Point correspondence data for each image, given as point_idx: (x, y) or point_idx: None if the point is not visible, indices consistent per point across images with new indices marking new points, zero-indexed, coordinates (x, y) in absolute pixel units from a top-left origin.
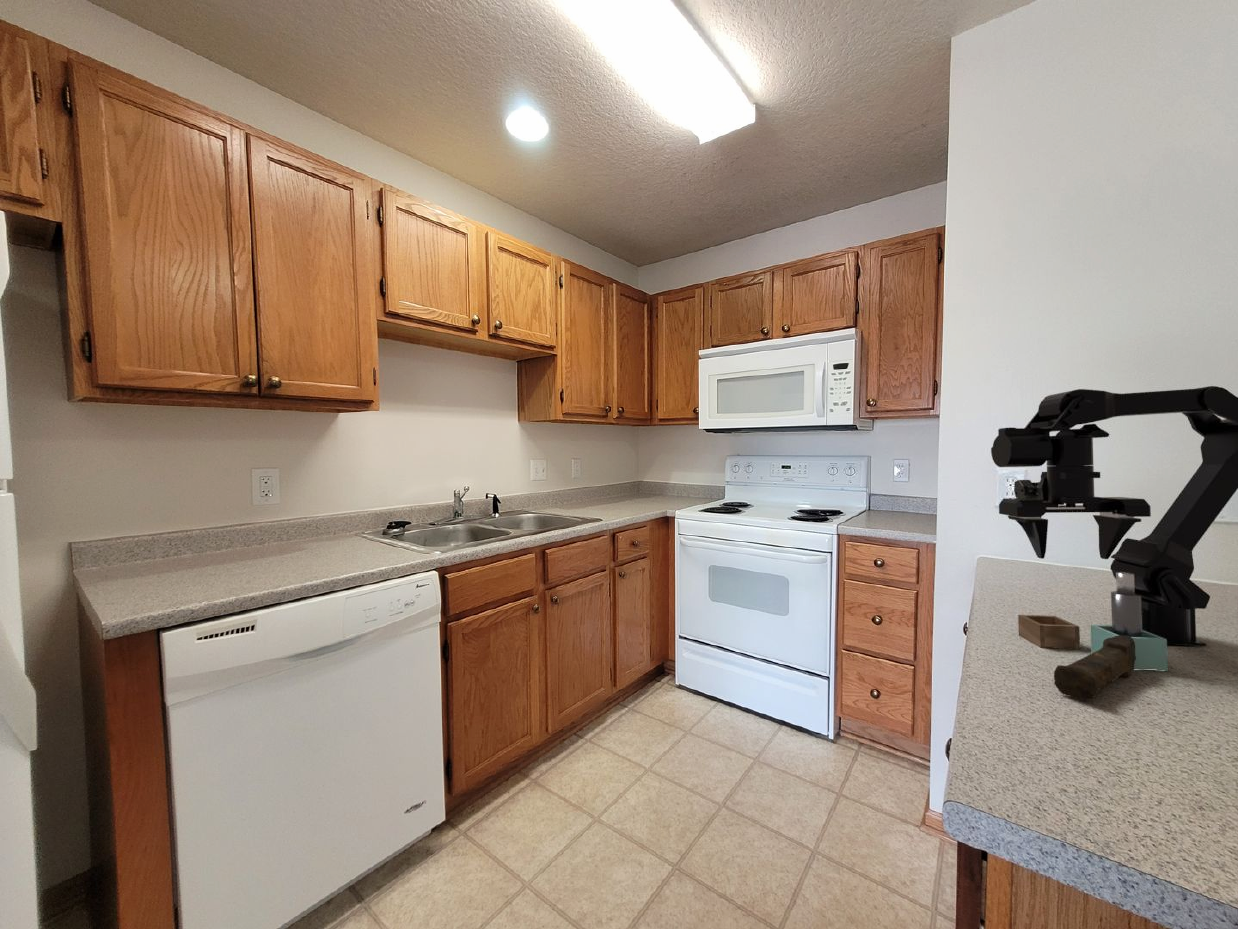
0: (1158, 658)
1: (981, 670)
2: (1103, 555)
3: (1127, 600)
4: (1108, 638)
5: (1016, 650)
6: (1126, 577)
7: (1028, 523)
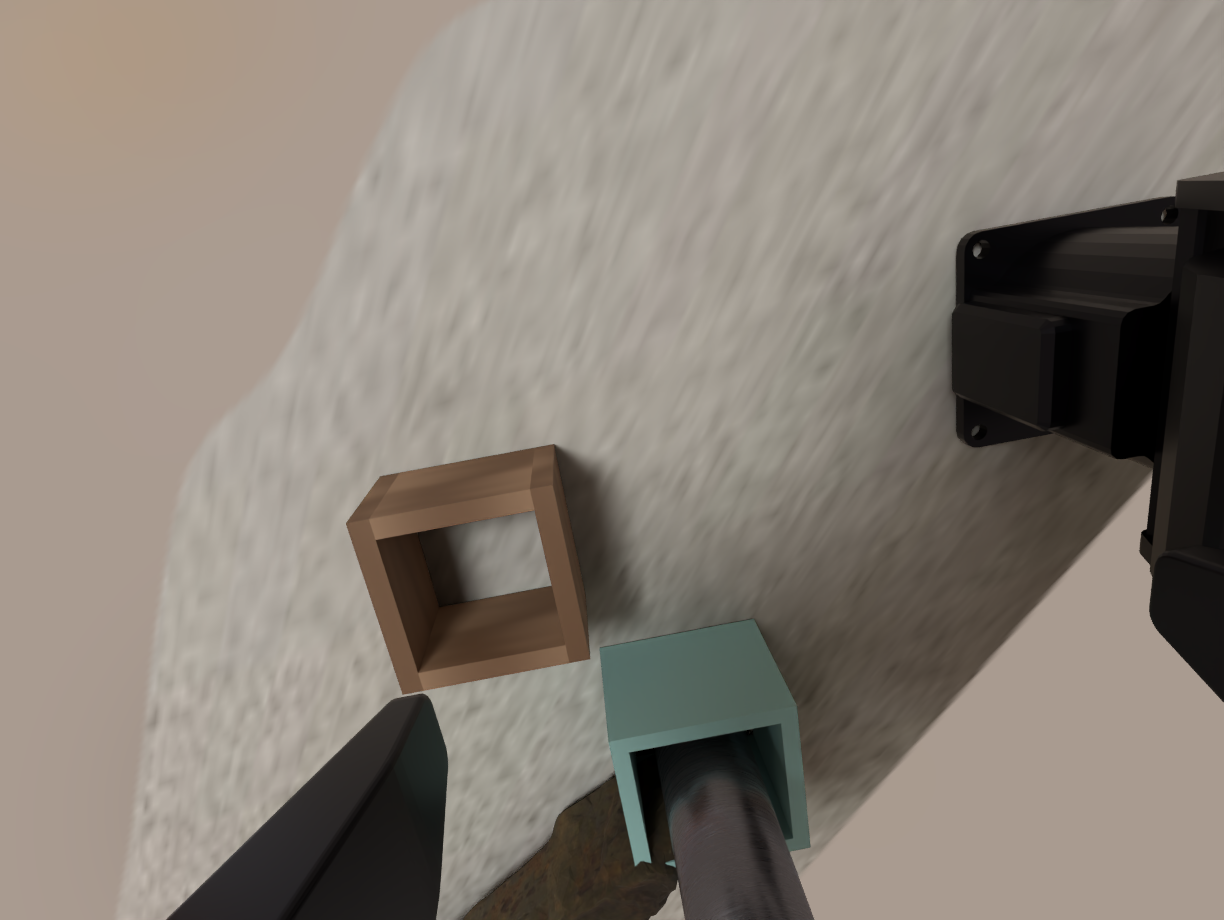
0: None
1: (148, 915)
2: (1187, 625)
3: None
4: (577, 916)
5: (315, 688)
6: None
7: None
